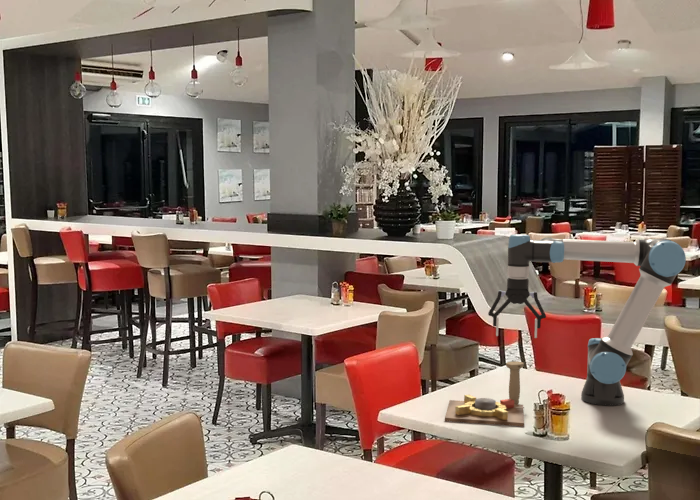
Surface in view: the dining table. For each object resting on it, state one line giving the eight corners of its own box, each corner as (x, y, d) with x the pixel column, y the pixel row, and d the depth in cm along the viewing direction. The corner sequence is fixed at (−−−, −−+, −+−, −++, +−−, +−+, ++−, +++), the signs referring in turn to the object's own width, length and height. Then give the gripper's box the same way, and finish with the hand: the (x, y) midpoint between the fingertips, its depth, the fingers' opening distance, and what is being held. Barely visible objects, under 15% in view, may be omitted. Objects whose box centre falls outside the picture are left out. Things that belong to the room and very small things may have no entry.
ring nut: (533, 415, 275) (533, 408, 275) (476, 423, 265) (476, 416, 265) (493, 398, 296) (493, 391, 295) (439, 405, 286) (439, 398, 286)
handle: (525, 404, 293) (526, 363, 292) (511, 406, 290) (511, 365, 289) (517, 401, 297) (517, 360, 296) (502, 403, 295) (503, 362, 293)
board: (523, 408, 289) (524, 394, 288) (524, 426, 267) (525, 412, 267) (449, 403, 294) (449, 390, 293) (444, 421, 272) (445, 407, 272)
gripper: (553, 277, 291) (551, 335, 293) (483, 275, 296) (481, 332, 298) (554, 280, 284) (552, 340, 286) (482, 277, 289) (480, 336, 291)
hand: (516, 336), depth 292 cm, fingers open, 13 cm apart
